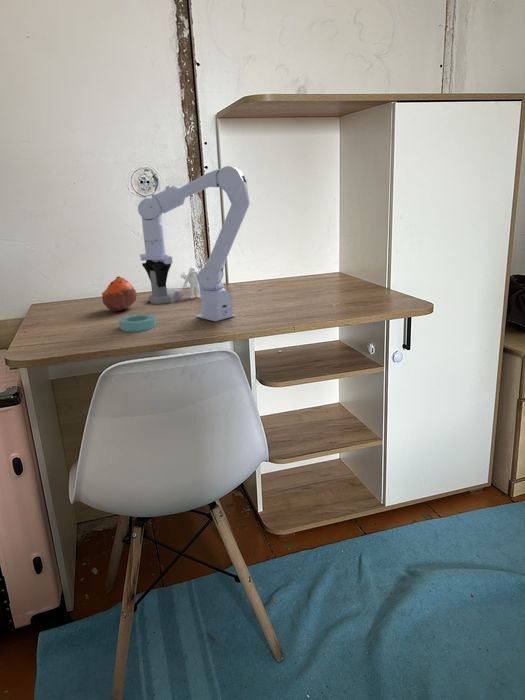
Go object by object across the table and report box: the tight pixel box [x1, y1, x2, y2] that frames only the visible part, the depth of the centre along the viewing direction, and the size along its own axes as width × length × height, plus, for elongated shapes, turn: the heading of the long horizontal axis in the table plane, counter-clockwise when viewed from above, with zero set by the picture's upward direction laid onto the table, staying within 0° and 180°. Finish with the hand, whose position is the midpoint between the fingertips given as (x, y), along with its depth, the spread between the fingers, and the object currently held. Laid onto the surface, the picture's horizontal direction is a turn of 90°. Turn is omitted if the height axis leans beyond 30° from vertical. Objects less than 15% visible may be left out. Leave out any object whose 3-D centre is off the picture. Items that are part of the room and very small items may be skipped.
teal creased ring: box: [119, 313, 157, 333], centre depth 157 cm, size 10×10×2 cm
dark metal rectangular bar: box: [150, 270, 168, 298], centre depth 163 cm, size 3×3×8 cm
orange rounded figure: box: [101, 276, 138, 312], centre depth 178 cm, size 12×10×11 cm
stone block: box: [148, 287, 184, 305], centre depth 192 cm, size 12×5×10 cm
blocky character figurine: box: [180, 262, 202, 299], centre depth 191 cm, size 9×4×12 cm, turn 101°
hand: (158, 286), depth 163 cm, fingers closed on dark metal rectangular bar, 3 cm apart
